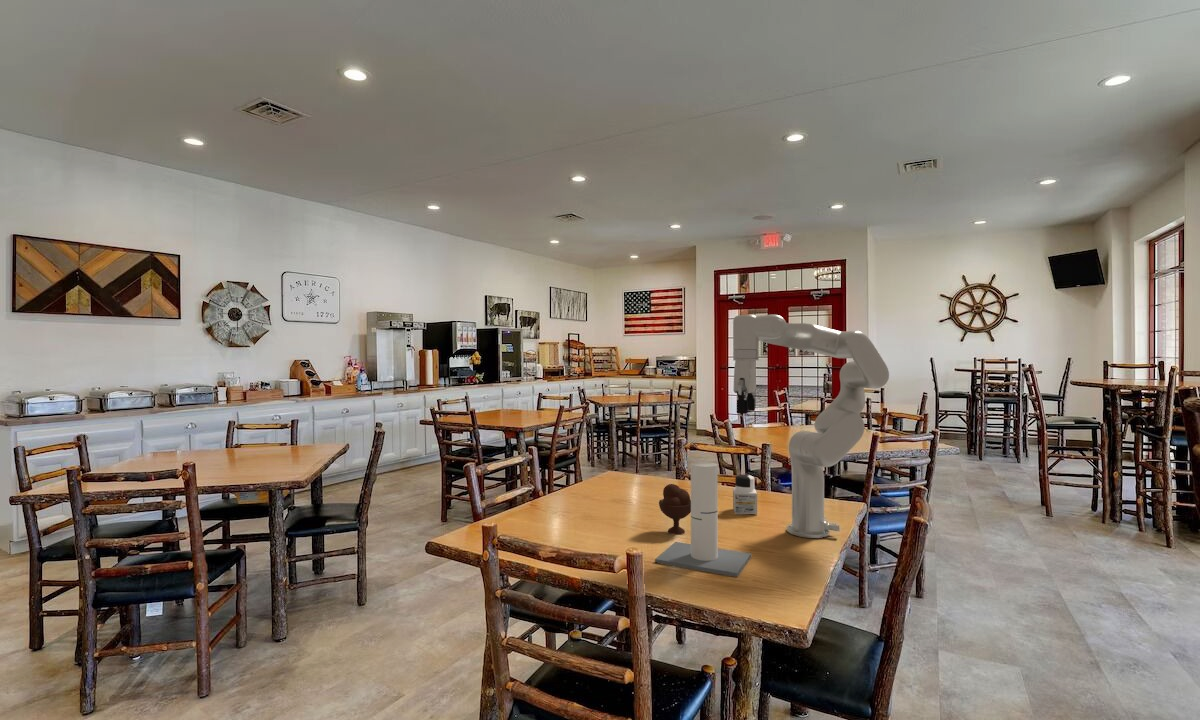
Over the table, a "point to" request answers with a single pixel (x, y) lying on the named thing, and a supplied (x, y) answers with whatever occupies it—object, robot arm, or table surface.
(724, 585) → the table surface
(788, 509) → the table surface
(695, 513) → the cylindrical container
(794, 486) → the robot arm
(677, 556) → the board
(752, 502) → the container
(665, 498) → the ice cream bowl
